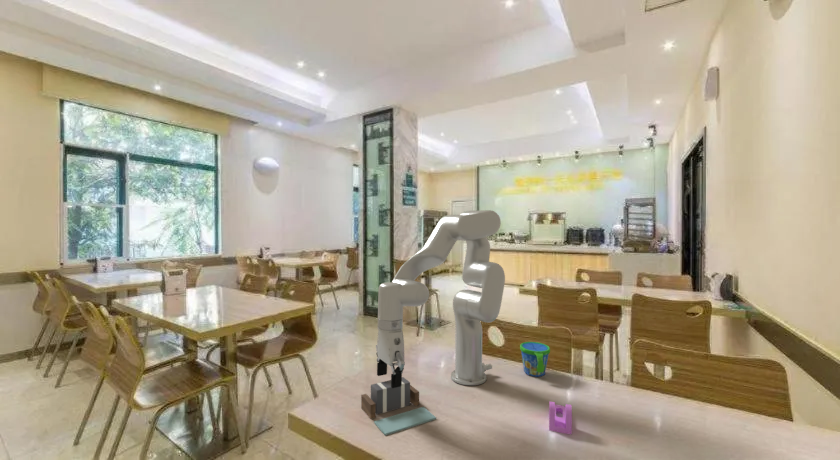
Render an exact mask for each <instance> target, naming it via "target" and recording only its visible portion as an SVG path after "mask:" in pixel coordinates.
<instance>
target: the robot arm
mask: <svg viewBox="0 0 840 460" xmlns="http://www.w3.org/2000/svg"><path fill="white" fill-rule="evenodd" d="M501 222H502V221H501V217H500V216H499V214H498V213H497V212H496V211H494V210H491V209H490V210H489V209H487V210H486V209H485V210H466V211H463V212H460V213H459V214H448V215H444V216H442V217H441V218H440V219H439V220H438V222H437V224H436V226H435V227H434V228H433V230H432V232H431V233H430V235H429V236H428V239H427V240H426V241H425V243H424V245H423V246H422V248H421V249H420V250H419V251H418V252H415V253H414V254H413V255H412V256H411V257H409V259H408V260H406V261H404V263H403V264H402V265H401V266H400V267H399V269H398V271H397V272H396V274H395V276H394V277H393V279H392V281H391V282H389V281H388V282H382V283H381V284H379V286H378V291H377V292H378V296H377V297H378V298H377V300H378V301H377V343H376V345H375V348H376V357H377V358H376V363H377V364H376V376H378V377H380V376H386V375H387V373H388V366H390V368H391V371H392V373H391V374H390V375H391V377H390V380H391V387H392V388H396V387H400V386H401V385H402V377H403V373H404V370H405V364H406V361H405V339H404V338H405V337H404V332H403V325H404V324H403V321H404V319H403V318H404V307H420V306H423V305H424V304H426V303H427V302H428V300H429V298H430V290H429V288H428V286H427V285H426V284H424V283H422V282H421V281H416V279H417V278H418V277H419V276H420V275H421V274H423V273H424V272H426V271H429V270H431V269H433V268H436V267H438V266H441V265H442V264H444V262H446V260H447V258H448V256H449V254H450V253H451V251H452V249H453V248H454V246H455V244H456V243H457V241H465V242H466V243H465V244H466V253H465V257H464V263H463V266H462V267H463V268H462V273H461V275H462V276H461V278H462V281H463V283H464V284H466V285H467V286H471V287H475V288H479V289H481V291H478V290H472V289H462V290H459V291H457V292H456V293H455V294H454V296H453V299H452V308H453V309H452V310H453V314H454V315H453V316H454V322H455V337H454V338H455V341H454V343H455V346H454V347H455V350H454V351H455V352H454V354H455V355H454V358H455V361H454V362H455V363H454V365H455V366H454V367H455V368H454V370H453V371H451V373H450V378H451V381H453V382H455V383H457V384H459V385H463V386H478V385H482V384H483V383H486V381H487V375H486V373H485V372H487V371H488V370H489V371H490V370H492V369H493V365H492V364H491V363H487V364H485V363H484V362H483V327H482V323H492V322H494V321H495V320H496V319H497V318H498V317H499V314H500V312H501V311H500V310H501V306H502V302H503V301H502V300H503V295H504V289H505V283H506V275H505V274H506V273H505V271H504V268H503V267H502V266H501V265H500V264H499V263H498V262H492V261H490V256H491V255H490V254H491V245H490V241H489V239H488V237H490V236H493V235H495V234H497V232H498V231H499V229H500V228H501ZM481 322H482V323H481ZM396 366H397V367H396ZM395 367H396V368H395Z"/></svg>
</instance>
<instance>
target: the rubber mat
mask: <svg viewBox="0 0 840 460" xmlns="http://www.w3.org/2000/svg"><path fill="white" fill-rule="evenodd" d="M435 420H437V417H436V415H434V414H433V413H432V412H430V410H428V409H427V408H426V407H424V406H422V407H417V408H415V409H414V408H413V409H411V410H407V411H405V412H404V411H403V412H401V413H397V414H394V415H391V416H390V415H389V416H387V417H384V418H380V419H376V420H374V421H373V422H374V423H373V424H374V425H375V426H376V427H377V428H378V429H379V430H380V432H381V433H382V435H384V436H388V435H391V434H394V433H397V432H401V431H404V430H406V429H410V428H413V427H416V426H418V425H419V426H420V425H423V424H426V423H428V422H432V421H435Z"/></svg>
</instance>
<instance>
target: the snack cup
mask: <svg viewBox="0 0 840 460" xmlns="http://www.w3.org/2000/svg"><path fill="white" fill-rule="evenodd" d="M519 349H520V351H521V361H522V367H523V371H524V373H525V374H526V375H527V376H531V377H536V378H537V377H543V376H545V375H546V371H547V364H548V358H549V354H550V352H551V348H550V346H549V345H548V344H545V343H542V342H536V341H525V342H522V343H520V344H519Z"/></svg>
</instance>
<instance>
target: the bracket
mask: <svg viewBox="0 0 840 460" xmlns="http://www.w3.org/2000/svg"><path fill="white" fill-rule="evenodd" d="M548 402H549V404H548V405H549V406H548V407H549V409H548V414H549V416H548V431H552V432H556V433H562V434H568V435H572V431H573V430H572V429H573V426H572V425H573V424H572V421H573V420H572V419H573V418H572V417H573V414H572V412H573V411H572V410H573V409H572V404H569V403H568V404H567V403H565V406H564V405H561V404H556V402H555V401H550V400H549V401H548ZM557 413H561V414H562V417H561V416H558V415H557Z"/></svg>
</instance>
